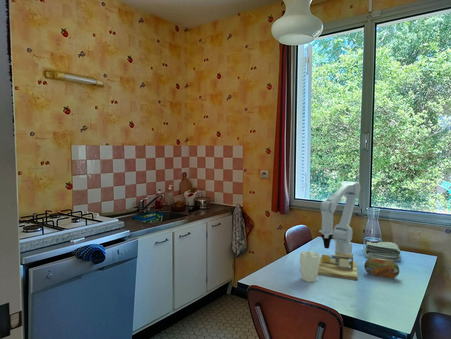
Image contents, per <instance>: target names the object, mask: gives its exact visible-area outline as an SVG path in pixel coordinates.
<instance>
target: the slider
mask: <svg viewBox="0 0 451 339" xmlns="http://www.w3.org/2000/svg"><path fill="white" fill-rule="evenodd" d="M321 257H322V262H324V263H332V264H336V262H334V261H330V258H331V255H329V254H321ZM350 261H351V260H349V267H343V266H339V265H340V259H339V260H338V262H337V264H338V267H341V268H348V269H350Z"/></svg>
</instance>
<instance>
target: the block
mask: <svg viewBox="0 0 451 339" xmlns="http://www.w3.org/2000/svg"><path fill="white" fill-rule="evenodd" d="M339 260H340V265H339V266H343V267H349V261H350V258H343V257H340V258H339Z"/></svg>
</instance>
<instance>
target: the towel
mask: <svg viewBox="0 0 451 339" xmlns="http://www.w3.org/2000/svg"><path fill="white" fill-rule="evenodd" d="M371 242H372V241H370V242H368V241H367V242H366V244H365V247H364V255H365V258H366V259H369V258H378V259H385V260H391V261H394V262H399V261H400V260H401V256H400V255H401V250H400V248H399V245H398V244H396V243H394V242H390V241H377V242H378V243H371Z"/></svg>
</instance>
